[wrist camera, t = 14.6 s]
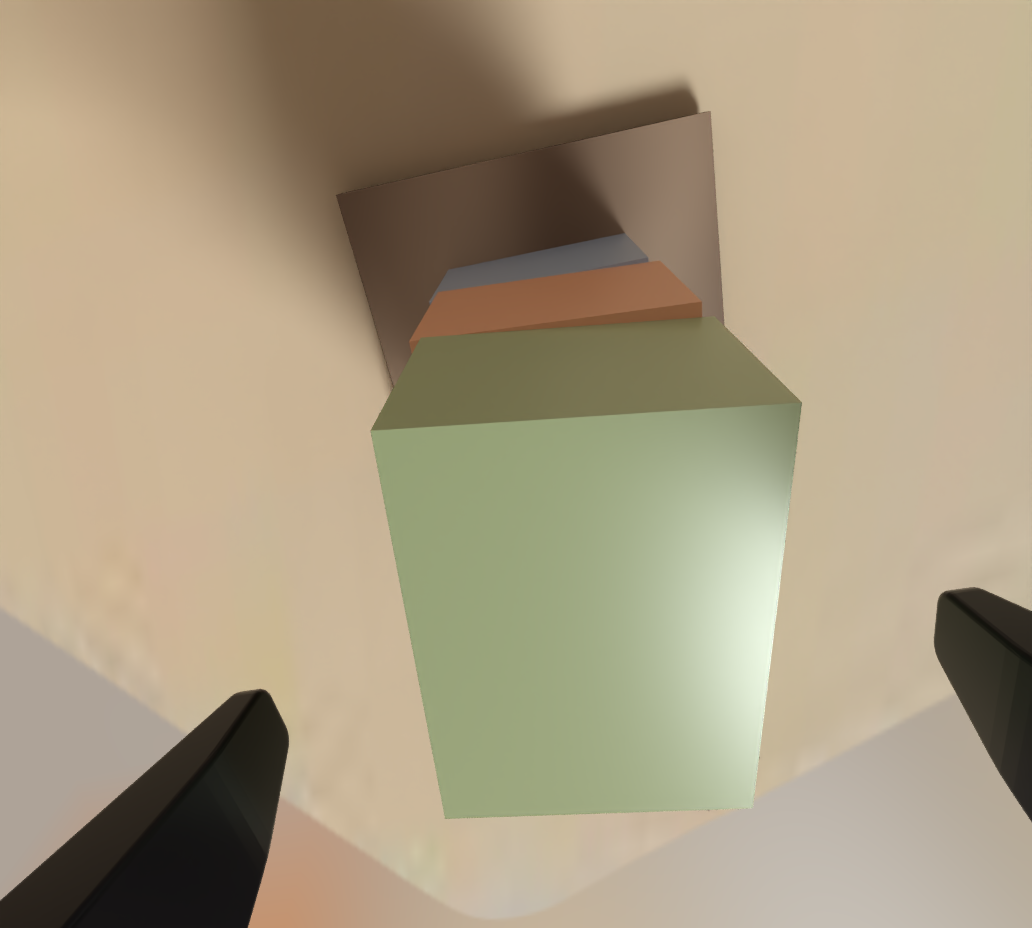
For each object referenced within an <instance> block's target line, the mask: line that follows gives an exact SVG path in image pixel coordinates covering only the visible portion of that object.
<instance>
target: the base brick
mask: <svg viewBox="0 0 1032 928" xmlns="http://www.w3.org/2000/svg"><path fill="white" fill-rule="evenodd" d="M646 262H649V260H648V257H647V256H646V254H645V253H644V252H643V251H642V250H641V249H640V248H639V247H638V246H637V245H636V244H635V243H634V242H633V241H632V240H631V239H630V238H629V237H628V236H627V235H626V234H625V233H623V234H618V235H613V236H608V237H603V238H599V239H594V240H589V241H584V242H579V243H574V244H570V245H565V246H560V247H555V248H550V249H546V250H541V251H536V252H531V253H526V254H521V255H517V256H512V257H507V258H502V259H497V260H493V261H488V262H483V263H478V264H473V265H469V266H464V267H459V268H454V269H449V270H448V271H447V273H446V275H445V276H444V278H443V280H442V281H441V283H440V285H439V286H438V288H437V290H436V291H435V293H434V294H433V296H432V298H431V299H430V301H429V303H430V305H431V303H432V301H433V300H434V298H435V296H436V294H437V293H438V292H441V291H449V290H456V289H463V288H470V287H477V286H484V285H491V284H498V283H505V282H512V281H519V280H526V279H533V278H540V277H547V276H554V275H561V274H568V273H575V272H582V271H589V270H596V269H603V268H610V267H617V266H624V265H632V264H639V263H646Z"/></svg>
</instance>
